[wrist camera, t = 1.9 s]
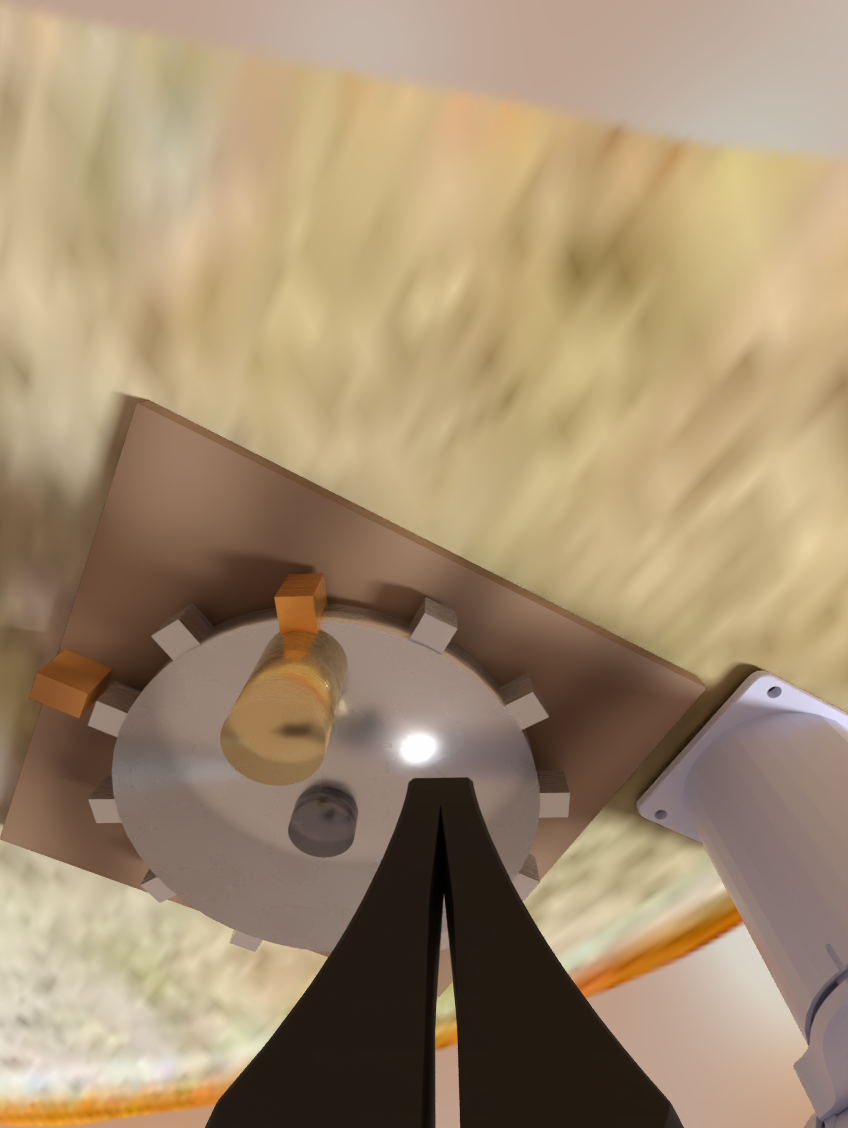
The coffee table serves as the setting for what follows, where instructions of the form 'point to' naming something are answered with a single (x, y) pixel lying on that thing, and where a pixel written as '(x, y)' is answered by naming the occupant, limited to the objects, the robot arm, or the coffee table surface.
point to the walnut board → (352, 577)
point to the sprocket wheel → (311, 758)
